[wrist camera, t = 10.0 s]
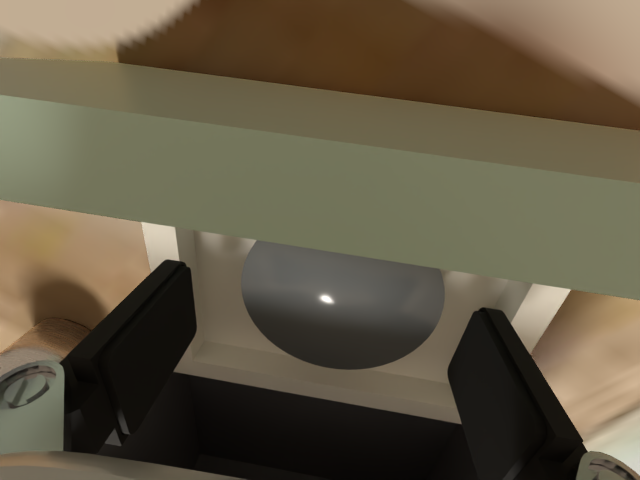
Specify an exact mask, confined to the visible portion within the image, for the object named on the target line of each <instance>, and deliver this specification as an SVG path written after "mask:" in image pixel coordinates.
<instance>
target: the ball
mask: <svg viewBox="0 0 640 480" xmlns="http://www.w3.org/2000/svg"><path fill="white" fill-rule="evenodd" d="M90 332H91V331H90V330H89V329H87V328H85V327H83V326H81V325H79V324H77V323H75V322H72V321H69V320H65V319H58V318H51V319H45V320H43V321H41V322H40V323H38V324H37V325H36V326H34V327H33V328H32V329H31V330H29V331H28V332H27V333H25V334H24V335H23V336H22V337H20V338H19V339H18V340H16V341H15V342H14V343H13V344H11V345H10V346H9V347H7V348H6V349H5V350H4V351H2V352H1V353H0V377H1V376H2V375H3V374H5V373H7V372H9V371H11V370H12V369H14V368H16V367H19V366H21V365H24V364H27V363H30V362H35V361H40V360H50V361H54V362H58V363H60V362H61V361H62V360H63V359H64V358H65V357H66V356H67V355H68V354H69V353H70V352H71V351H72V350H73V349H74V348H75V347H76V346H77V345H78V344H79V343H80V342H81V341H82V340H83V339H84V338H85V337H86V336H87V335H88V334H89V333H90Z"/></svg>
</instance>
